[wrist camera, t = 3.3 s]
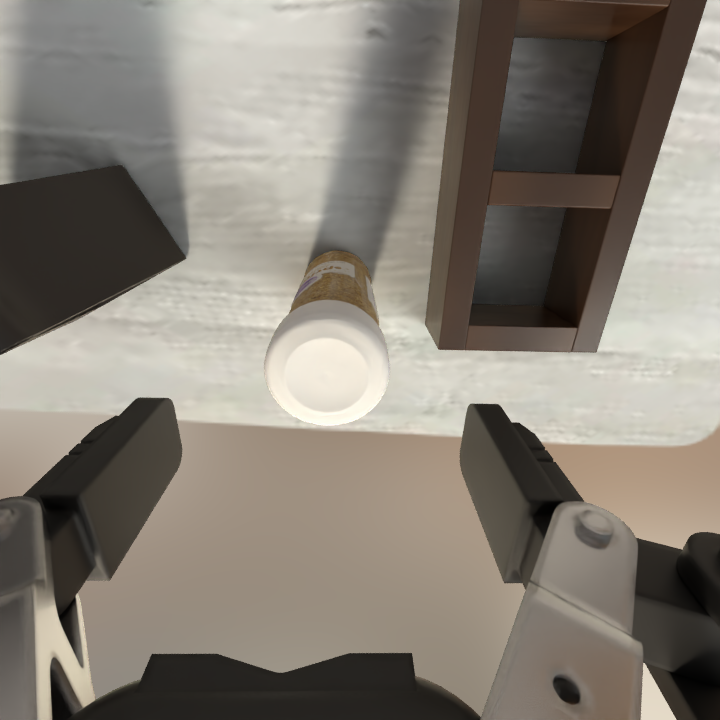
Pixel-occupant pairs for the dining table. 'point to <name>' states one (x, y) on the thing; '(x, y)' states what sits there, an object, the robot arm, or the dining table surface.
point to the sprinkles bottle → (329, 345)
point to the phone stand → (74, 249)
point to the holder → (550, 189)
